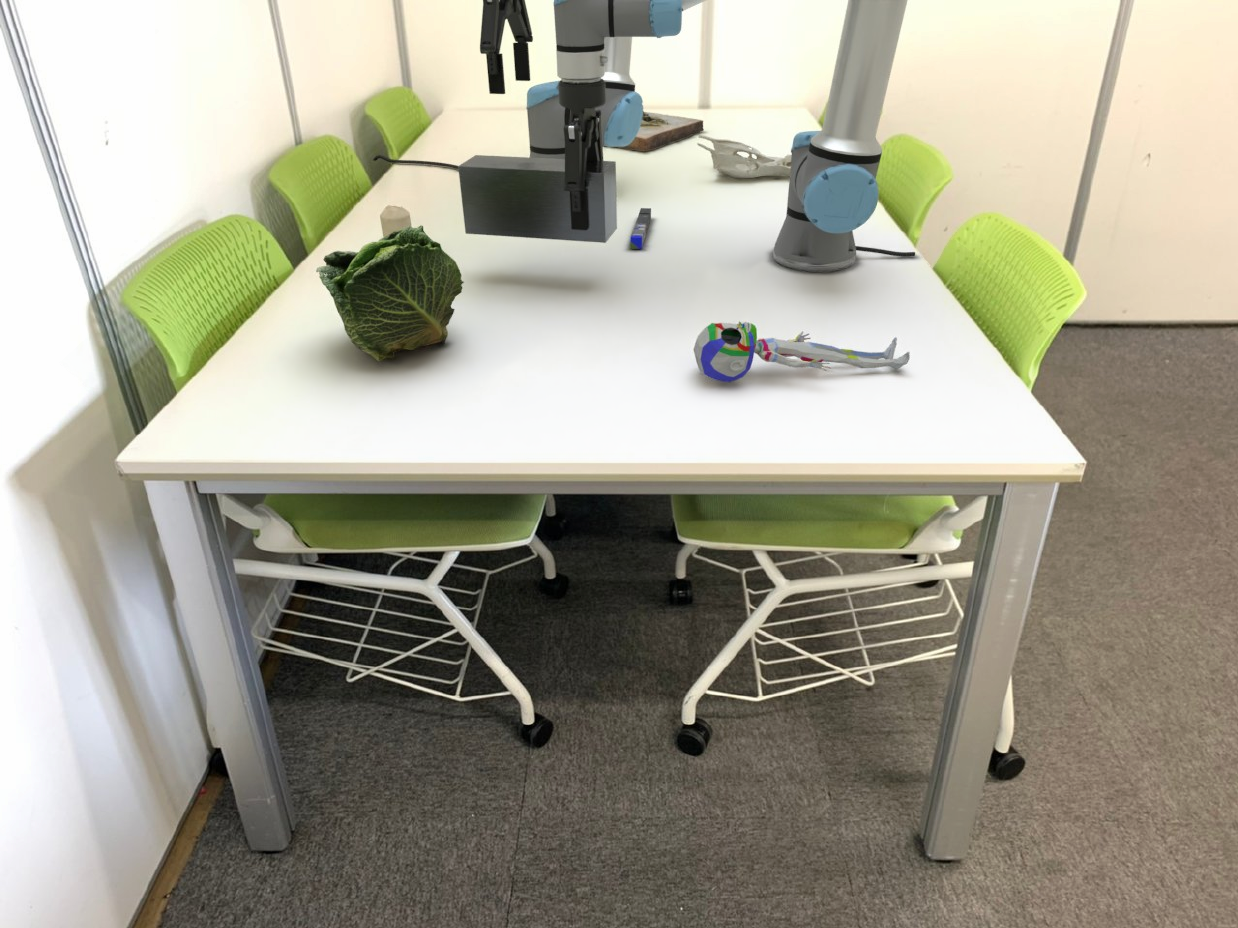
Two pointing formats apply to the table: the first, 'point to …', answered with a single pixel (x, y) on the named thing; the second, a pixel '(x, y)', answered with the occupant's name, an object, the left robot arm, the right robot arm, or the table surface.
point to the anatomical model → (744, 160)
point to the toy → (775, 352)
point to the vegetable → (394, 292)
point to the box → (535, 198)
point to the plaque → (663, 131)
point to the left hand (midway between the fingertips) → (510, 87)
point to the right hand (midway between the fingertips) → (586, 221)
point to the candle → (394, 219)
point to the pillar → (640, 228)
